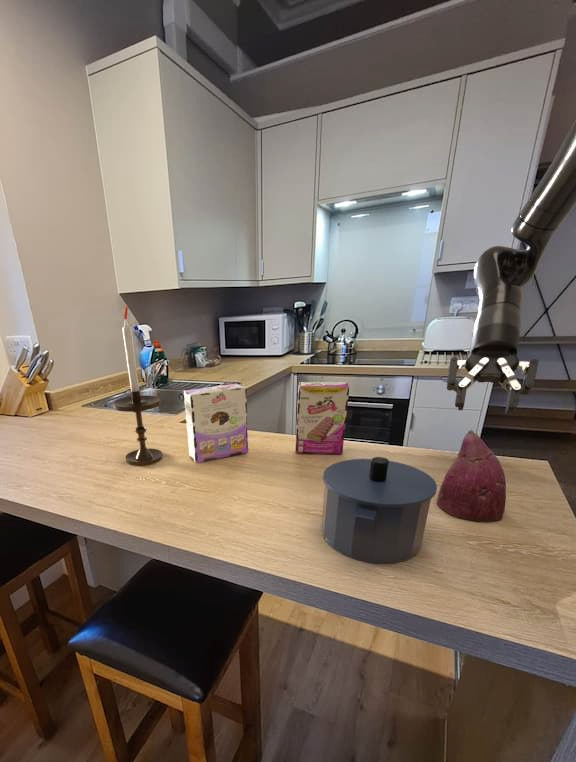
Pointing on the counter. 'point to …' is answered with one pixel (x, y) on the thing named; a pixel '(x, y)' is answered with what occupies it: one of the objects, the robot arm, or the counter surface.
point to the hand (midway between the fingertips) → (484, 409)
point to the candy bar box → (321, 417)
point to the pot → (373, 529)
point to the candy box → (216, 422)
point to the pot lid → (379, 482)
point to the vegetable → (474, 483)
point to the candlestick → (137, 405)
